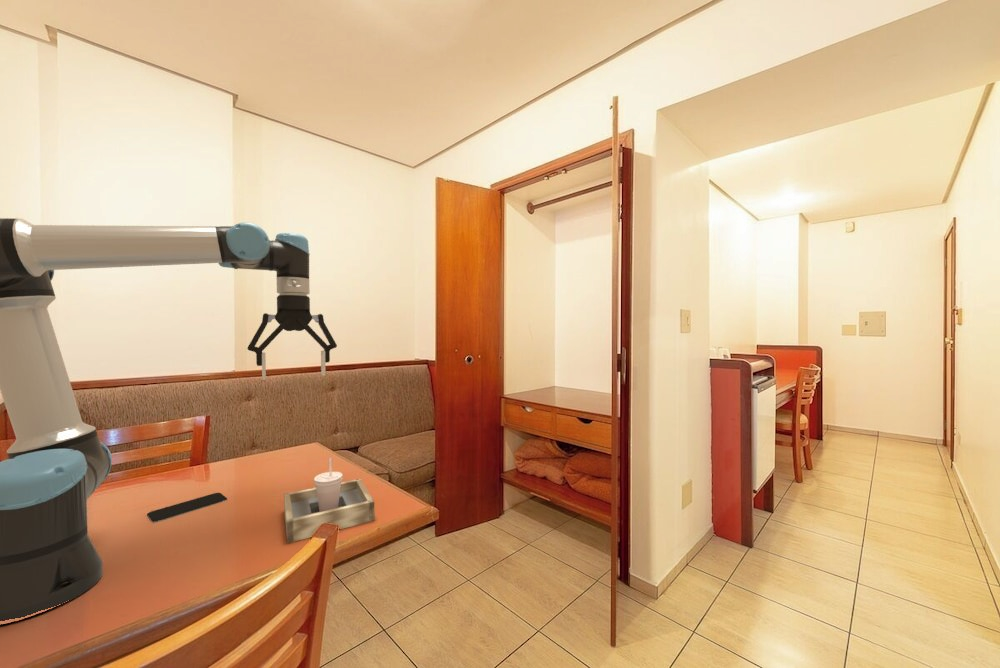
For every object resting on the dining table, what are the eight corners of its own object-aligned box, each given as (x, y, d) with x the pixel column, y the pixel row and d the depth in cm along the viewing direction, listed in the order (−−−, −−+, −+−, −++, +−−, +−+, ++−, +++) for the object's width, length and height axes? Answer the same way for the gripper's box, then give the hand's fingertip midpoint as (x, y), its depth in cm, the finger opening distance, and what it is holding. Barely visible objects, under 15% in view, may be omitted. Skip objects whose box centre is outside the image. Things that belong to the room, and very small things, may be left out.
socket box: (287, 543, 80) (286, 522, 80) (284, 512, 94) (283, 494, 94) (374, 520, 90) (374, 501, 90) (360, 494, 103) (360, 478, 103)
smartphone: (228, 499, 101) (153, 522, 89) (228, 501, 101) (153, 525, 89) (219, 491, 105) (145, 512, 93) (219, 494, 105) (146, 515, 93)
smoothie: (334, 523, 88) (333, 463, 88) (308, 522, 89) (307, 462, 89) (348, 510, 95) (347, 454, 94) (323, 509, 95) (322, 453, 95)
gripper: (233, 292, 89) (235, 382, 89) (347, 296, 102) (348, 374, 102) (236, 294, 95) (237, 378, 96) (342, 297, 108) (343, 372, 109)
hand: (294, 376), depth 99 cm, fingers open, 13 cm apart
